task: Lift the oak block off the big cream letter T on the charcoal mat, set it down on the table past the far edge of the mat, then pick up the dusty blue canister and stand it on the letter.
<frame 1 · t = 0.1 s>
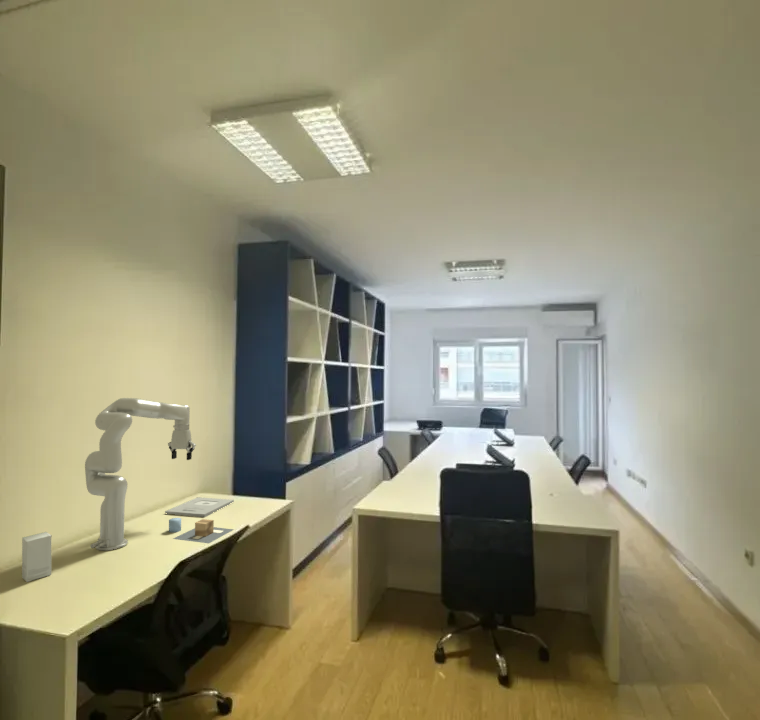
hand: (181, 459, 257), 31 cm above the table, tool pointing down, fingers open, 9 cm apart
blue canister: (174, 531, 233), on the table
skincare box: (36, 577, 181), on the table
letter mat: (204, 535, 228), on the table
oak block: (204, 533, 228), point 1 cm above the table, touching letter mat
award plaque: (200, 509, 273), on the table
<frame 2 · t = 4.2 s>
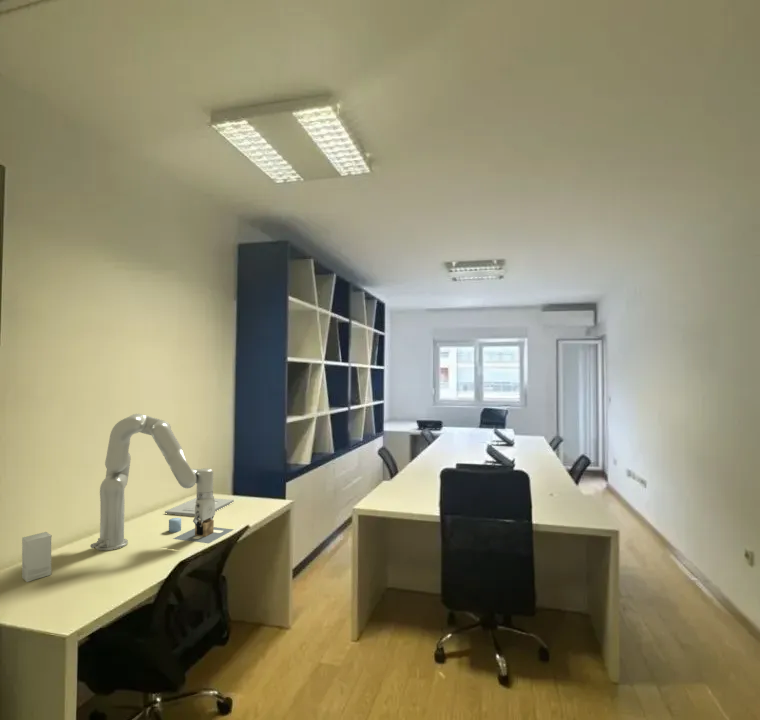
hand: (204, 531, 228), 2 cm above the table, tool pointing down, fingers closed on oak block, 6 cm apart
oak block: (204, 533, 228), point 1 cm above the table, touching gripper, letter mat
everything else where it was.
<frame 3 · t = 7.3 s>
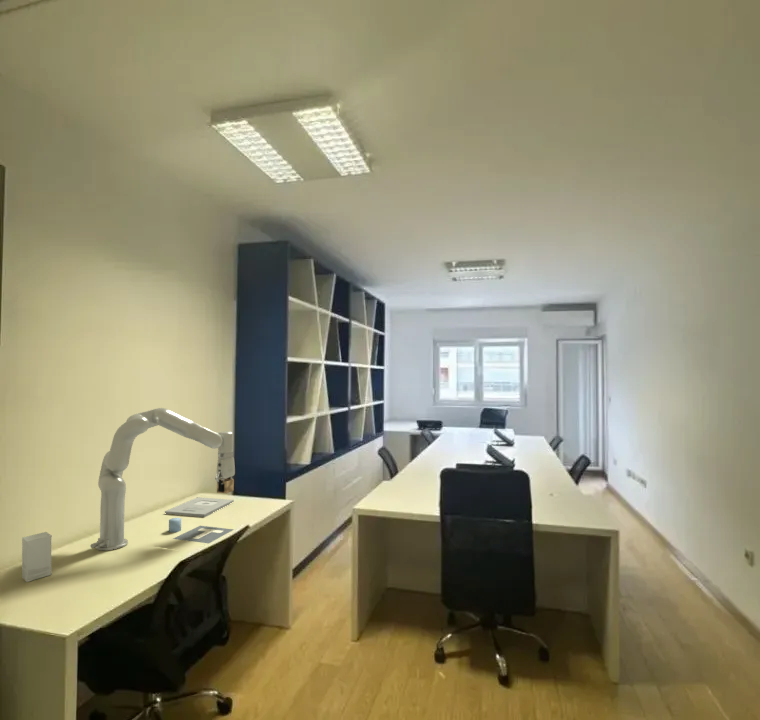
hand: (225, 489, 246), 17 cm above the table, tool pointing down, fingers closed on oak block, 6 cm apart
oak block: (225, 491, 246), point 17 cm above the table, touching gripper
everything else where it was.
when the fingers open (2 cm above the table, at t = 10.5 s): oak block drops 2 cm, on the table.
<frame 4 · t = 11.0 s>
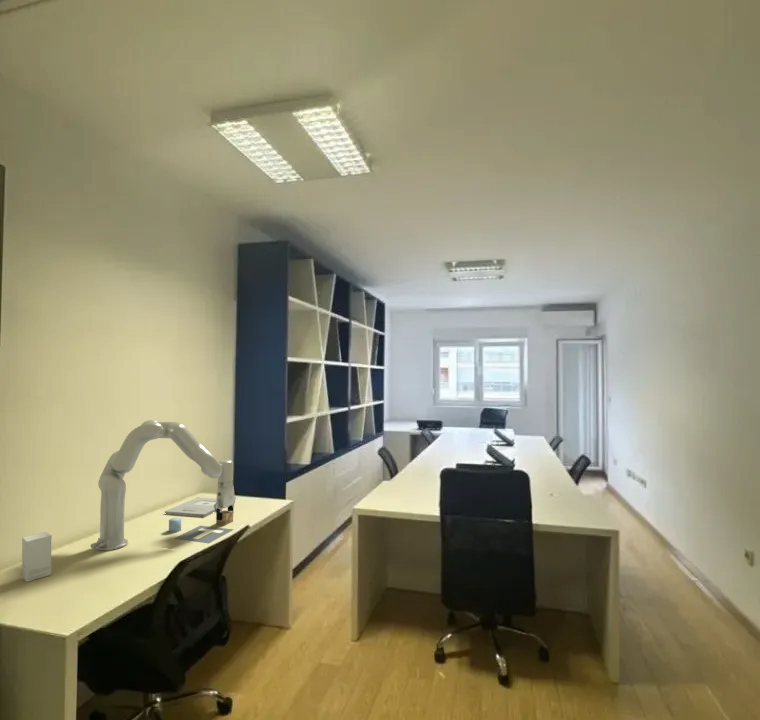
hand: (224, 517, 245), 3 cm above the table, tool pointing down, fingers open, 9 cm apart
oak block: (224, 523, 245), on the table
everything else where it was.
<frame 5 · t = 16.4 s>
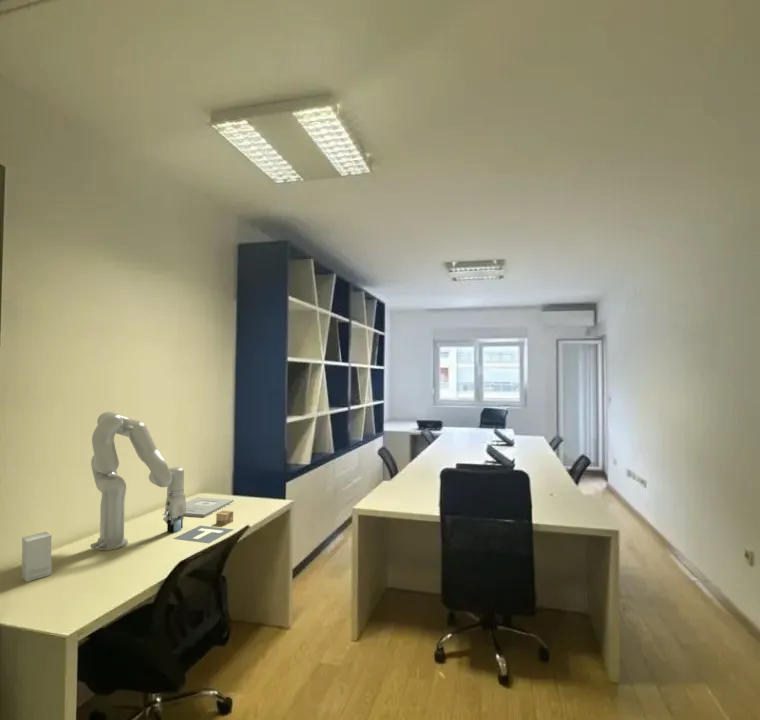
hand: (174, 529, 233), 1 cm above the table, tool pointing down, fingers closed on blue canister, 5 cm apart
blue canister: (174, 531, 233), on the table, touching gripper
everything else where it was.
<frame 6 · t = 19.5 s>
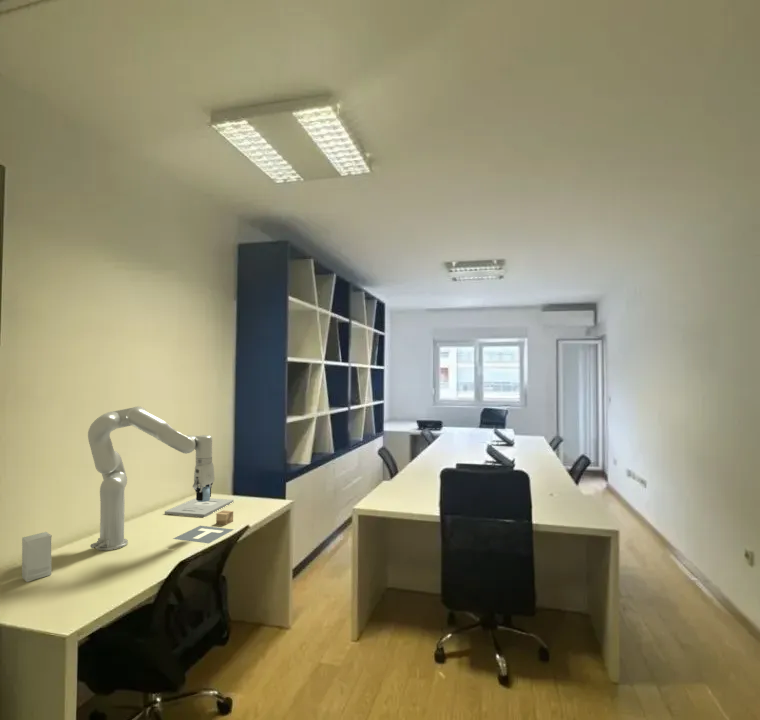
hand: (203, 498, 229), 18 cm above the table, tool pointing down, fingers closed on blue canister, 5 cm apart
blue canister: (203, 500, 228), point 17 cm above the table, touching gripper
everything else where it was.
when the fingers open (3 cm above the table, at t = 22.8 s): blue canister drops 1 cm, resting on letter mat.
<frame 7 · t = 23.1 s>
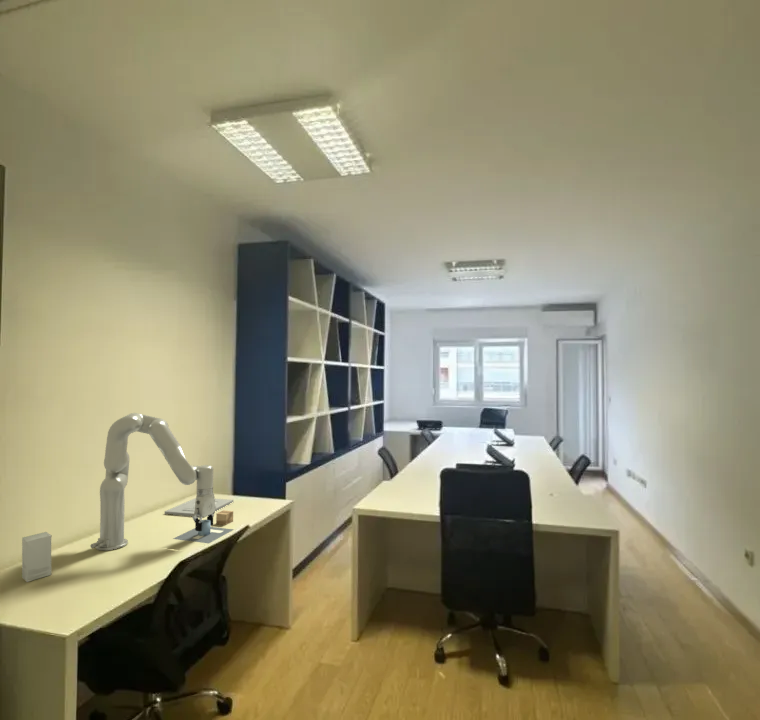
hand: (204, 527, 228), 4 cm above the table, tool pointing down, fingers open, 8 cm apart
blue canister: (204, 533, 228), point 1 cm above the table, touching letter mat
everything else where it was.
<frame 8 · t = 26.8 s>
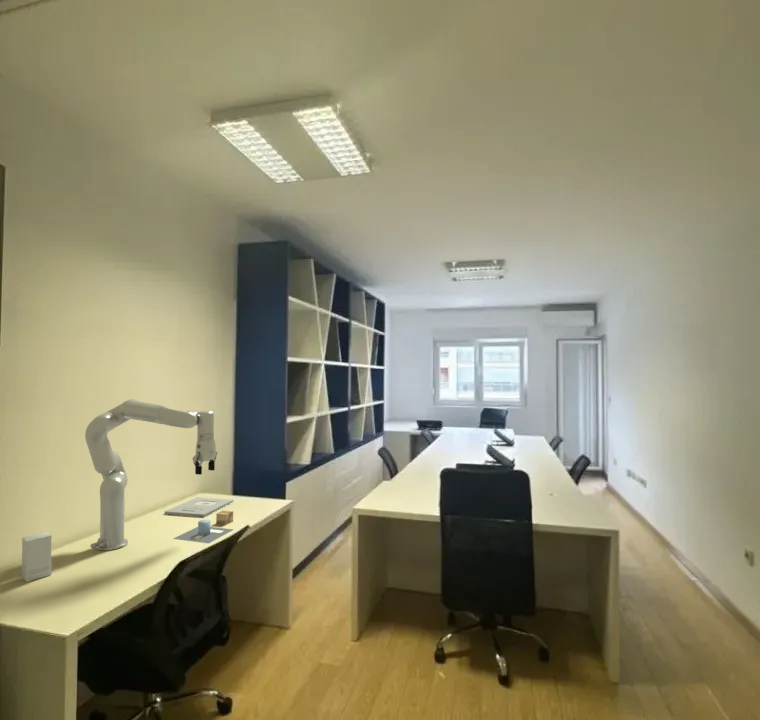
hand: (205, 472, 229), 30 cm above the table, tool pointing down, fingers open, 9 cm apart
nothing on the table moved.
at the end: blue canister inside the target area on the letter mat (0.0 cm from its centre), point 0.6 cm above the letter mat's base; blue canister tilted 0°; oak block inside the target area (0.1 cm from its centre), on the table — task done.
